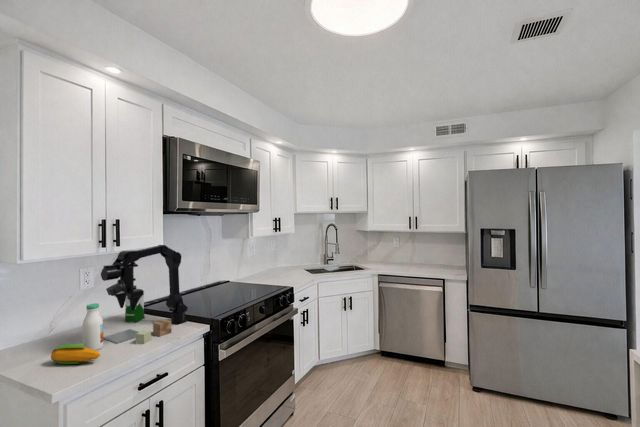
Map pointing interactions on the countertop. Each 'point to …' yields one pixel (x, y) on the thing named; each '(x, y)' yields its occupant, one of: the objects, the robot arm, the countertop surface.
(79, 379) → the countertop surface
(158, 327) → the walnut cube
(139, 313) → the milk carton
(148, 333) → the olive block
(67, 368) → the countertop surface
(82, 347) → the corn
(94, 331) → the milk bottle
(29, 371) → the countertop surface
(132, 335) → the slate coaster
